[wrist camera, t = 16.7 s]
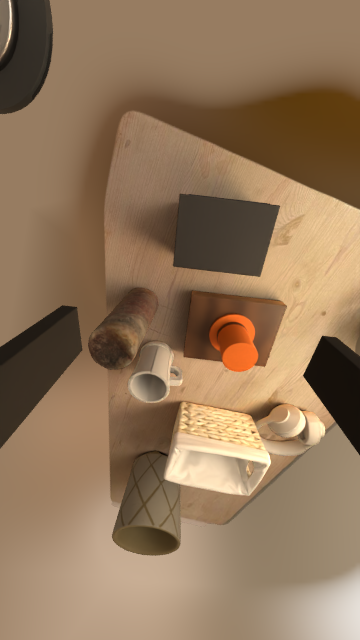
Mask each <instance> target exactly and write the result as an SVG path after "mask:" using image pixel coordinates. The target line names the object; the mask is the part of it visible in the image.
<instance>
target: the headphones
mask: <svg viewBox="0 0 360 640" xmlns="http://www.w3.org/2000/svg"><path fill="white" fill-rule="evenodd" d="M266 424H268V425H269V428H270V429H271V430H272V431H273V432H274V433H275V434H277V435H278V436H281V437H286V438H289V437H294V436H296V435H297V436H298V439H299V440H290V441H272V440H267V439H264V438H262V437H260V438H261V441H262V443H263V445H264V448H265V450H266V451H267V452H268V453H270V454H274V455H281V456H294V455H299V454H302V453H304V452H305V450H307V449H308V448H310V447H312V446H313V445H315V444H318V443H319V441H320V439H321V437H323V436H324V434H325V427H324V424H323V422H322V421H321V420H319V419H318V417H317V416H316V414H315V413H314V412H309V411H300V410H299V409H298V408H296V407H295V406H294V405H291V404H282V405H279V406H277V407H275V408H274V409H273V410H272V411H271V412H270V414H269V416H267V417H265V418H263V419H260V420H259V421H257V422H255V426H256V428H257V430H258V429H259V428H260V427H261V426H263V425H266ZM256 440H257V439H256Z"/></svg>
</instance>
